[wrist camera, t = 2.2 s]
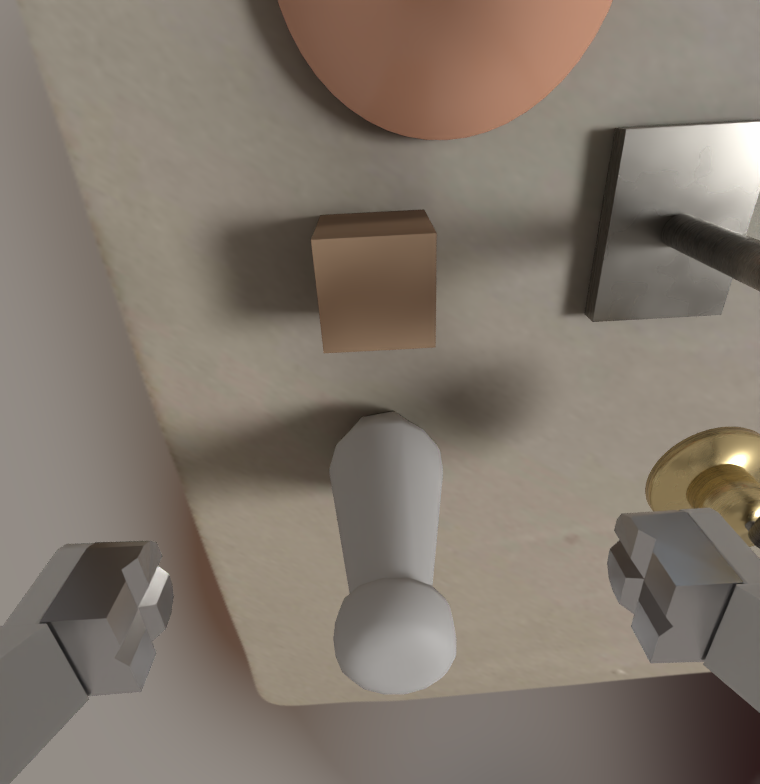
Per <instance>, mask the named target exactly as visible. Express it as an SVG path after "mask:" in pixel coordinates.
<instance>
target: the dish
mask: <svg viewBox="0 0 760 784" xmlns="http://www.w3.org/2000/svg"><path fill="white" fill-rule="evenodd" d="M612 1H613V0H278V4H279V6H280V9H281V11H282V14H283V16H284V19H285V21H286V24H287V26H288V29H289V31H290V33H291V35H292V37H293V39H294V41H295V43H296V44H297V46H298V48H299V50H300V52H301V54H302V55H303V57H304V58H305V60H306V61H307V63H308V64H309V66H310V67H311V69H312V70H313V71H314V73H315V74H316V76H317V77H318V78H319V79H320V80H321V81H322V83H323V84H324V85H325V86H326V87H327V88H328V89H329V91H330V92H331V93H332V94H333V95H334V96H336V97H337V98H338V99H339V100H340V101H341V102H342V103H343V104H345V105H346V106H347V107H348V108H349V109H351V110H352V111H354V112H355V113H357V114H358V115H360V116H361V117H363V118H364V119H365V120H367V121H369V122H371V123H373V124H375V125H377V126H379V127H381V128H383V129H385V130H388V131H391V132H394V133H397V134H400V135H404V136H407V137H413V138H419V139H425V140H450V139H458V138H466V137H470V136H473V135H477V134H481V133H484V132H488V131H490V130H492V129H495V128H497V127H499V126H502V125H504V124H506V123H508V122H510V121H512V120H513V119H515V118H517V117H518V116H520V115H522V114H523V113H525V112H527V111H528V110H529V109H531V108H532V107H533V106H535V105H536V104H537V103H538V102H540V101H541V100H542V99H544V98H545V97H546V96H547V95H548V94H549V93H550V92H551V91H552V90H553V89H554V88H555V87H556V86H557V85H558V84H559V83H560V82H561V81H562V80H563V79H564V78H565V77H566V76H567V75H568V73H569V72H570V71H571V70H572V68H573V67H574V66H575V65H576V64H577V62H578V61H579V60H580V59H581V57H582V56H583V54H584V52H585V51H586V49H587V48H588V46H589V45H590V43H591V42H592V40H593V39H594V37H595V36H596V34H597V32H598V30H599V28H600V26H601V24H602V22H603V20H604V19H605V17H606V15H607V13H608V11H609V8H610V6H611V3H612Z"/></svg>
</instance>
